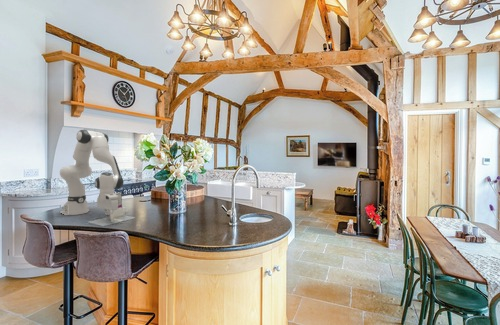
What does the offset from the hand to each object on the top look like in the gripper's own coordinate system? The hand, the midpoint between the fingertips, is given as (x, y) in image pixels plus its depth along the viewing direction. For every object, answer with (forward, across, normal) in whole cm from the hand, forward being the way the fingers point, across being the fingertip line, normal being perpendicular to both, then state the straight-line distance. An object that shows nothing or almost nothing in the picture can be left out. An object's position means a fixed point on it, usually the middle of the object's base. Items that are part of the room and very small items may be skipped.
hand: (107, 214), depth 182 cm
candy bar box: (+6, -20, +17) cm, 27 cm away
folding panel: (+4, +1, +3) cm, 5 cm away
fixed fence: (+5, -6, +11) cm, 14 cm away
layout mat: (+5, -2, +5) cm, 7 cm away
